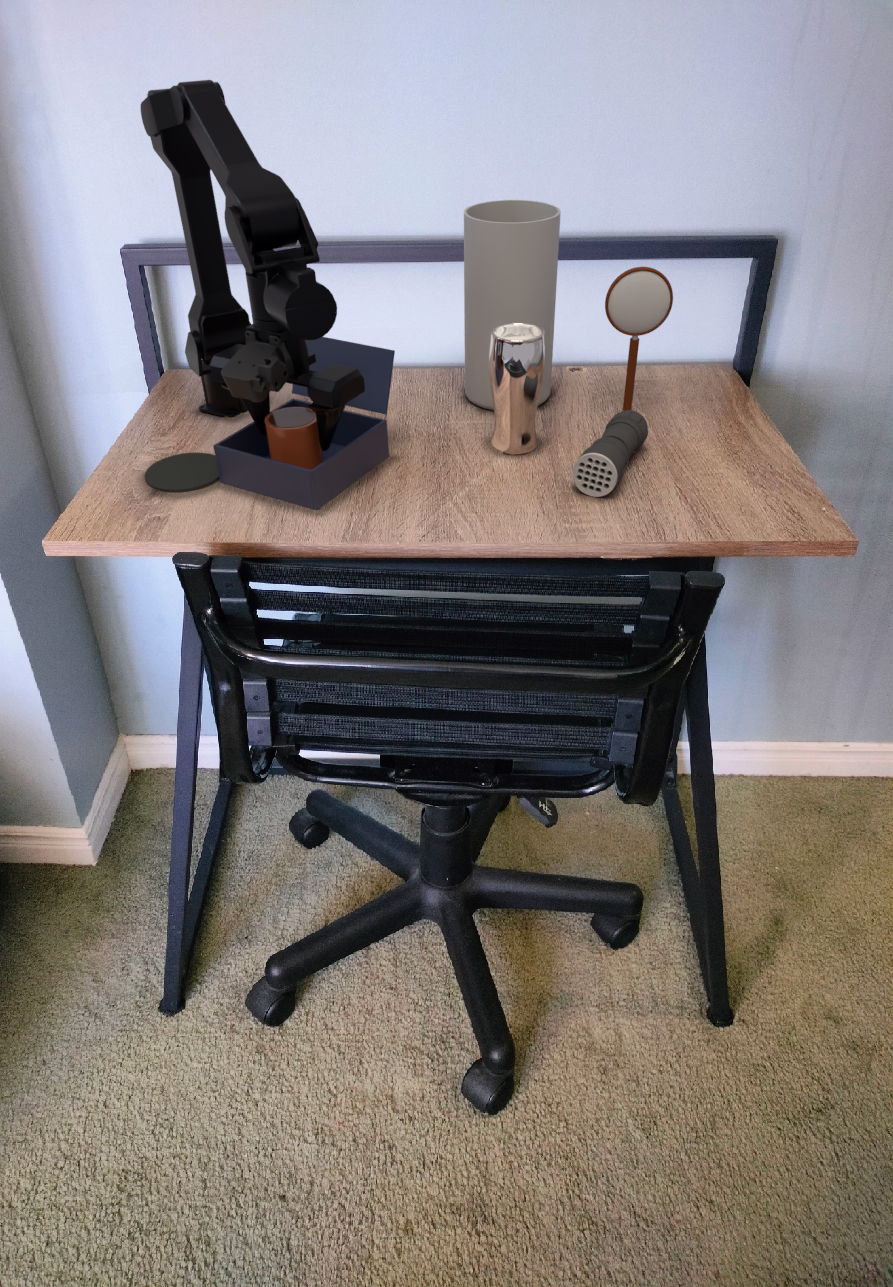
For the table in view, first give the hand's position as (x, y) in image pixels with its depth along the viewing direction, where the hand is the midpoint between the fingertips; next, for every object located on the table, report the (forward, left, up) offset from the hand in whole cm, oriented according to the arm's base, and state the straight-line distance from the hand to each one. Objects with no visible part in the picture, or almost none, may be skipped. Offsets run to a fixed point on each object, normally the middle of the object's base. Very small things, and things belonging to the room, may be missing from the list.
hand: (295, 442), depth 110 cm
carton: (0, +1, -5) cm, 5 cm away
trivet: (-13, -7, -5) cm, 15 cm away
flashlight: (+34, +19, -5) cm, 40 cm away
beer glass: (+20, +20, -5) cm, 29 cm away
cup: (0, 0, -4) cm, 4 cm away
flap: (0, +10, +5) cm, 12 cm away
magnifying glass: (+30, +35, -5) cm, 47 cm away
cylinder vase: (+12, +34, -5) cm, 37 cm away
